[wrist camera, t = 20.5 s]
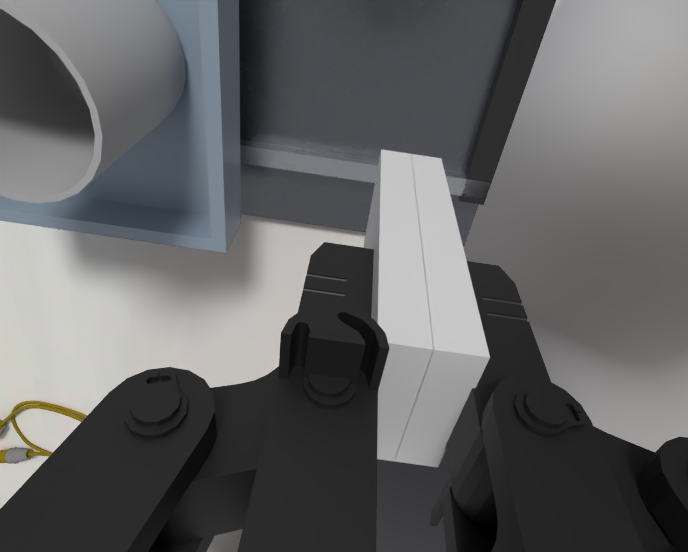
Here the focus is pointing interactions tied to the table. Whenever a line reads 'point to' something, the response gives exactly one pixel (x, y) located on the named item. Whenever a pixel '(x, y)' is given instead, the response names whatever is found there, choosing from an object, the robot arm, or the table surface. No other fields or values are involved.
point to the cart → (171, 152)
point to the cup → (80, 89)
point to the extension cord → (23, 454)
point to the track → (376, 98)
